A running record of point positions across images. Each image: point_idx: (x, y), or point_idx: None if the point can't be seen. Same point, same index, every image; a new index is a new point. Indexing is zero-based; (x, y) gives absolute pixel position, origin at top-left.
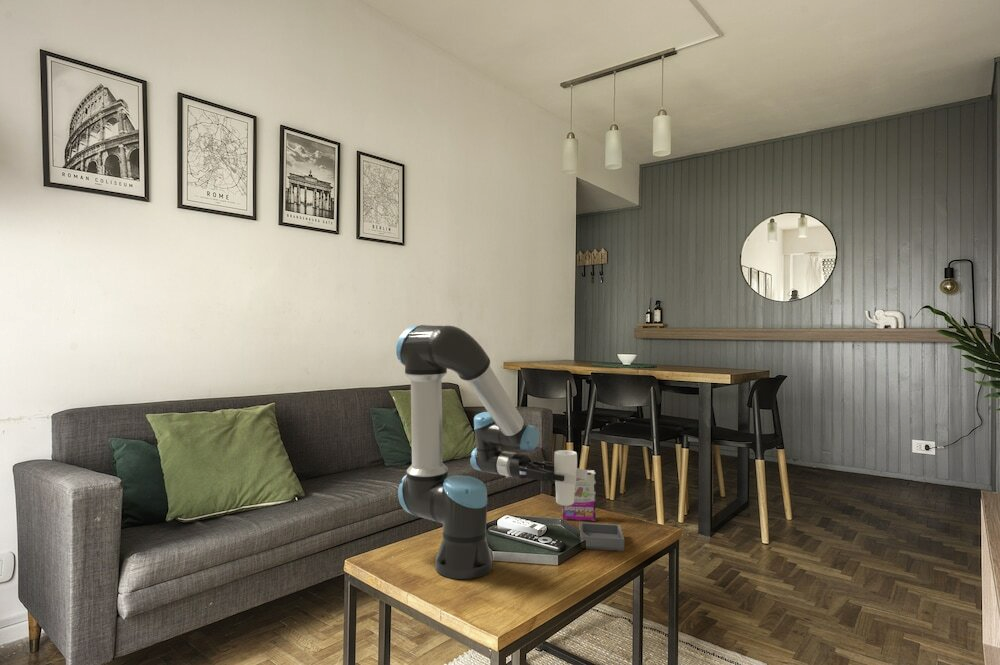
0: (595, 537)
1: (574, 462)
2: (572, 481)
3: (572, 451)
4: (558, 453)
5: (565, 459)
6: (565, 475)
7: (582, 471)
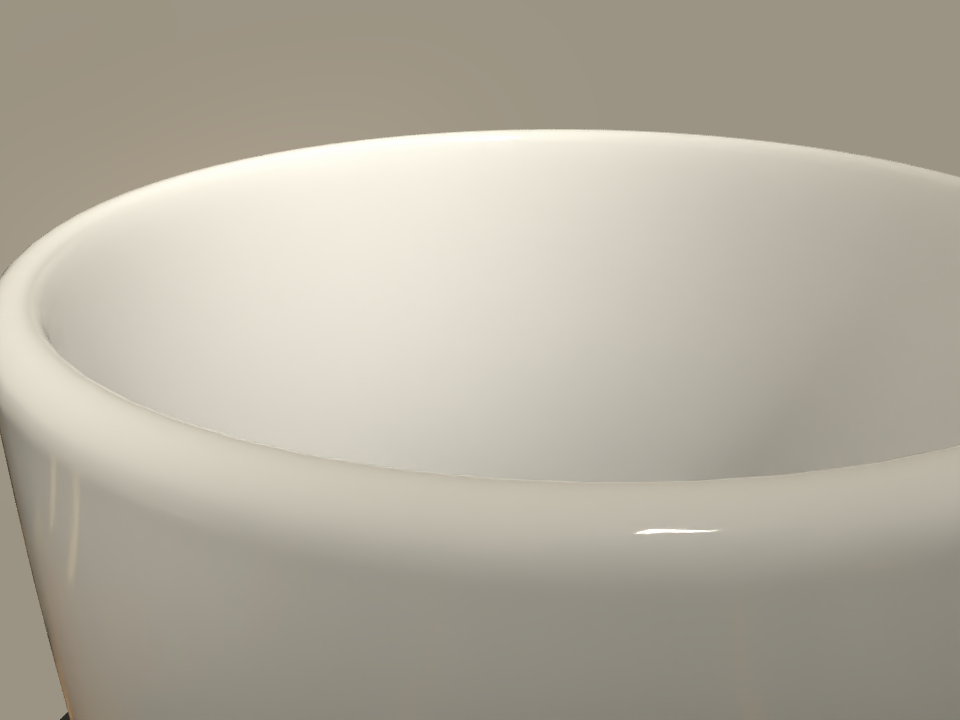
0: None
1: (589, 334)
2: None
3: (142, 208)
4: (391, 648)
5: (870, 302)
6: None
7: None
